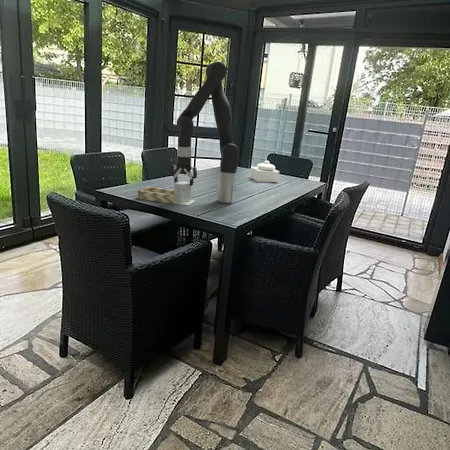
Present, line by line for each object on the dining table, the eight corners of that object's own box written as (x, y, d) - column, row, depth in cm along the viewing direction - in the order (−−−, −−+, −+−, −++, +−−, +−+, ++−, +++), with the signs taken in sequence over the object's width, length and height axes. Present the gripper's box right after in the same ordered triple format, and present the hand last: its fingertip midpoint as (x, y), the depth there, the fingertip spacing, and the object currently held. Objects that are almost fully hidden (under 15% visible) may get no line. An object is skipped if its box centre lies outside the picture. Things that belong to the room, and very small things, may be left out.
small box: (183, 199, 208) (184, 181, 205) (190, 201, 205) (191, 182, 202) (173, 201, 202) (174, 182, 199) (180, 203, 199) (181, 184, 196)
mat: (195, 201, 208) (195, 200, 207) (188, 205, 197) (188, 205, 197) (180, 199, 210) (180, 198, 209) (173, 203, 199) (173, 202, 199)
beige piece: (181, 198, 210) (181, 191, 209) (172, 203, 198) (172, 195, 197) (148, 194, 215) (148, 186, 214) (138, 198, 203) (138, 190, 202)
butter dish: (256, 182, 282) (258, 161, 277) (250, 177, 298) (252, 158, 294) (278, 183, 286) (280, 162, 281) (270, 178, 302) (273, 159, 298)
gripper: (199, 155, 198) (198, 185, 203) (174, 153, 201) (174, 182, 206) (194, 157, 191) (193, 187, 196) (169, 154, 194) (168, 185, 199)
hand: (183, 185), depth 201 cm, fingers open, 8 cm apart
